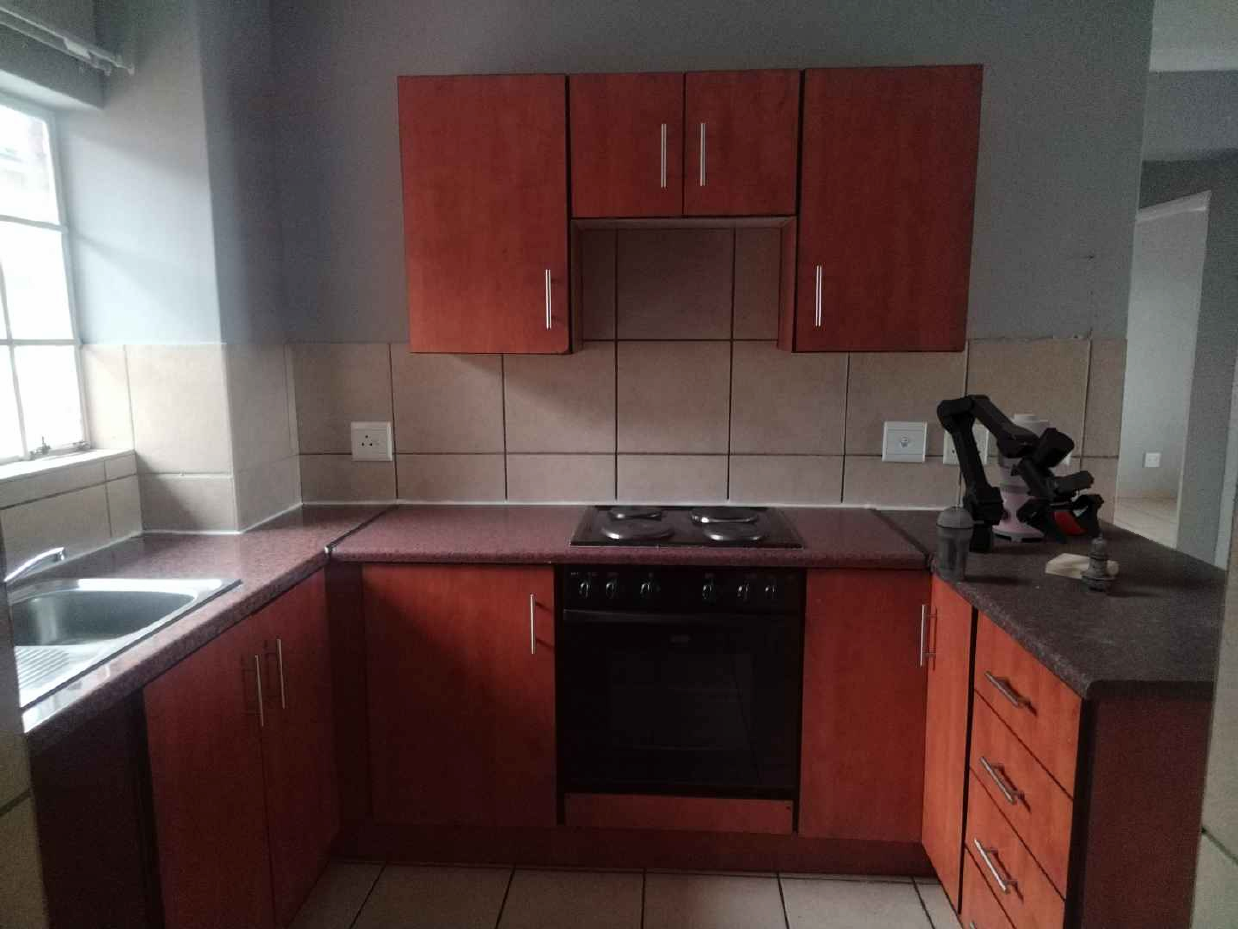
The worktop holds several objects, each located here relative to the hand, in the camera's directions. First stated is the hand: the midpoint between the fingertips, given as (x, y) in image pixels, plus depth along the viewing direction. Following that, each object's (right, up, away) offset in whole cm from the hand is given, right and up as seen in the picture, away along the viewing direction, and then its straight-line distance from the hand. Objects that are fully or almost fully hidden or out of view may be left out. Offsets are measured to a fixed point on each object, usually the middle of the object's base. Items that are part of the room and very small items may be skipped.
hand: (1083, 542), depth 151 cm
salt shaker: (+1, -10, -2) cm, 10 cm away
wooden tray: (+7, -8, +11) cm, 15 cm away
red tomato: (+26, -3, +48) cm, 55 cm away
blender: (+8, -3, +43) cm, 43 cm away
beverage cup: (-23, -9, +8) cm, 26 cm away
